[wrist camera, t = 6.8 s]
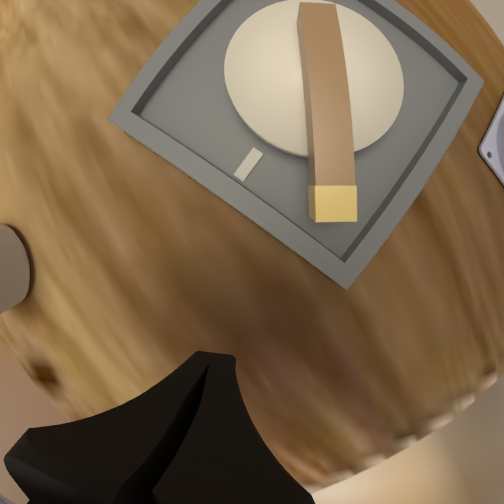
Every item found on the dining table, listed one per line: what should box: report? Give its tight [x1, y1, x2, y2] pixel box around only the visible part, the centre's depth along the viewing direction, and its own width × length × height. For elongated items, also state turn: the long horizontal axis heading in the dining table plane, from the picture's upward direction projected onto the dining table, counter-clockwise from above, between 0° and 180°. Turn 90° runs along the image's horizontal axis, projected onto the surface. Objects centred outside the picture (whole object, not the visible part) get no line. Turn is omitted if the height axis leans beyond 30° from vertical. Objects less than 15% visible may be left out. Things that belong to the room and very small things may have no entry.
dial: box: [224, 0, 404, 222], centre depth 14 cm, size 10×13×4 cm
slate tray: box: [108, 0, 484, 290], centre depth 16 cm, size 18×18×2 cm
